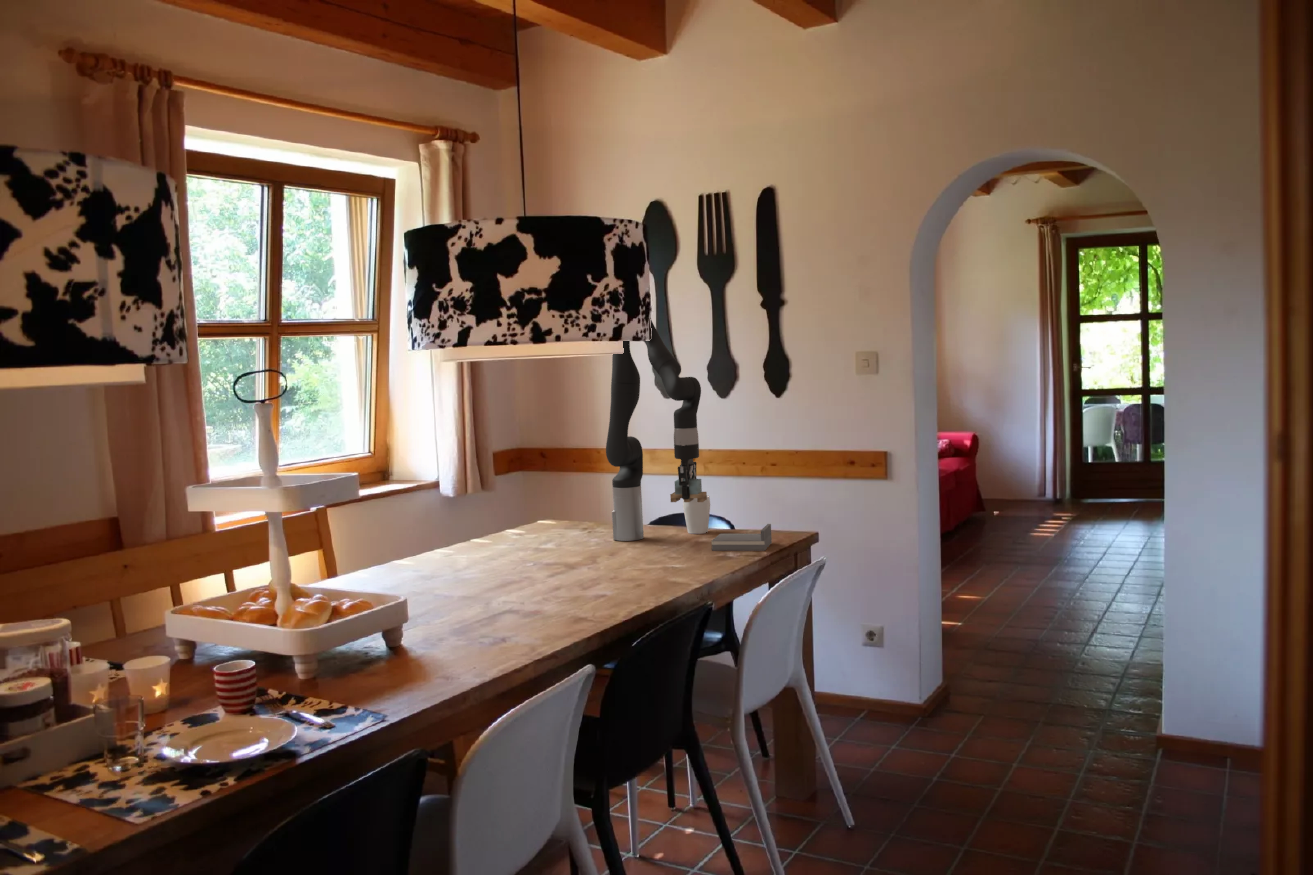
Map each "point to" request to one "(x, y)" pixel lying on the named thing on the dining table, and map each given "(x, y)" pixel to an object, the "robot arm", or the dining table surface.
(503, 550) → the dining table surface
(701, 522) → the cup
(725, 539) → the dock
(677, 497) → the pallet
